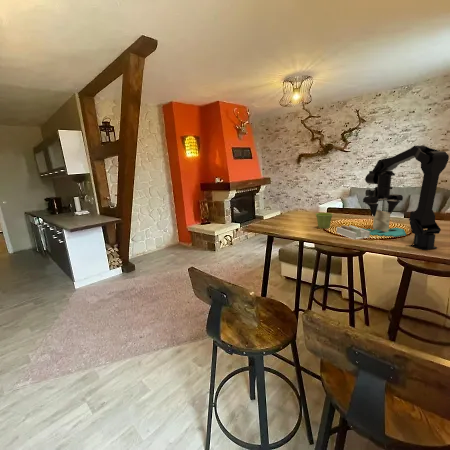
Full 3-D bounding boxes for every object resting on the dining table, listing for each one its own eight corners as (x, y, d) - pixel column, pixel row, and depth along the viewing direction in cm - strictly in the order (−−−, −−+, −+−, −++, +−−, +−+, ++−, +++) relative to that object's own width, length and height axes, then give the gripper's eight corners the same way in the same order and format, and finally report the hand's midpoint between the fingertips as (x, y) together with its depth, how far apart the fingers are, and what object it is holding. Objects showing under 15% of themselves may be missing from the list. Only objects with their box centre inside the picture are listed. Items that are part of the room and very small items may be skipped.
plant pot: (314, 226, 154) (314, 212, 152) (330, 226, 152) (331, 212, 151) (316, 230, 146) (316, 215, 144) (333, 230, 144) (334, 215, 142)
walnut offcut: (350, 235, 129) (351, 227, 128) (348, 235, 129) (348, 228, 128) (343, 232, 135) (343, 225, 134) (340, 232, 134) (341, 225, 134)
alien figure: (352, 232, 140) (383, 242, 121) (353, 228, 139) (384, 237, 121) (382, 228, 145) (416, 236, 126) (382, 224, 144) (416, 232, 125)
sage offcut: (359, 237, 126) (360, 229, 125) (357, 237, 125) (357, 229, 124) (351, 234, 131) (351, 226, 130) (349, 234, 131) (349, 226, 130)
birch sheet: (388, 231, 129) (390, 212, 127) (386, 232, 129) (388, 212, 127) (374, 228, 138) (376, 209, 135) (372, 228, 137) (374, 209, 135)
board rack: (370, 239, 125) (371, 231, 124) (353, 241, 123) (353, 233, 122) (351, 232, 138) (351, 225, 137) (335, 234, 136) (335, 227, 135)
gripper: (387, 182, 137) (384, 211, 141) (356, 185, 134) (354, 214, 137) (405, 183, 126) (402, 214, 130) (372, 186, 123) (370, 218, 127)
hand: (381, 215), depth 131 cm, fingers open, 9 cm apart
